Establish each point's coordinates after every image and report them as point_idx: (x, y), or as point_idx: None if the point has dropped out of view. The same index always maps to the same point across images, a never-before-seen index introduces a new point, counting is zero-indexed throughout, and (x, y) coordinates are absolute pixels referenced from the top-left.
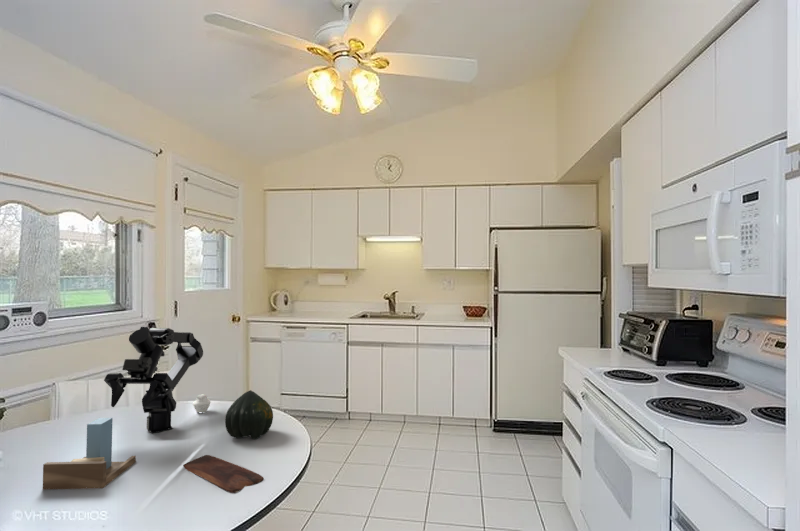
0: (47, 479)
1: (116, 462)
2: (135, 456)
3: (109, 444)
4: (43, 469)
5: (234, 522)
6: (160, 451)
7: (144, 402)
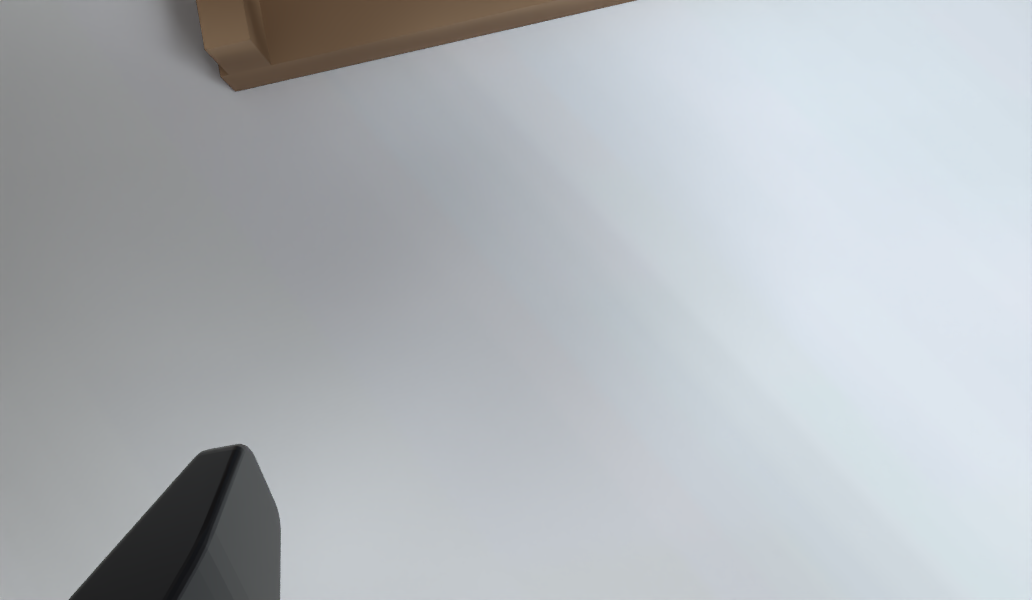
0: None
1: (429, 6)
2: (206, 48)
3: None
4: None
5: None
6: None
7: (168, 506)
